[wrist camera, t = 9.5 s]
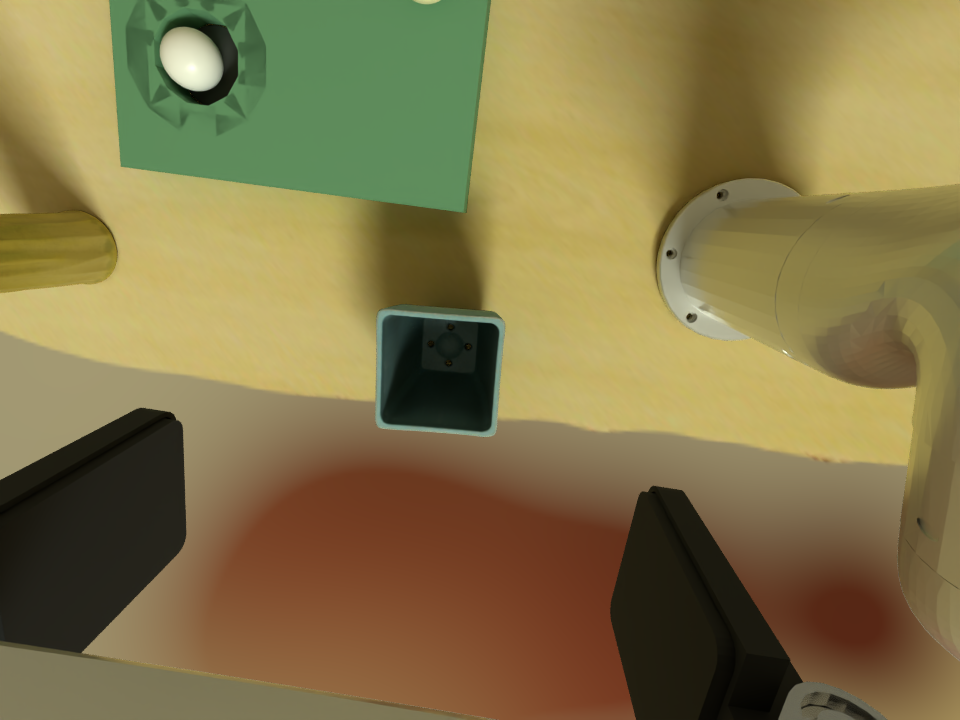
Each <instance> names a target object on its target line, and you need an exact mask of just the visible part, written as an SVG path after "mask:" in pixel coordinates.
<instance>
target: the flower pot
mask: <svg viewBox="0 0 960 720" xmlns="http://www.w3.org/2000/svg"><path fill="white" fill-rule="evenodd" d="M450 324H451V325H453V326H454V328H453V329H452V330H449V329H448V325H450ZM504 336H505V322H504V321H503V319H502V318H501V317H500V316H499V315H498V314H497V313H495V312H492V311H483V310H469V309H456V308H443V307H430V306H418V305H407V304H400V305H396V306H392V307H388V308H384V309H381V310H379V311H378V313H377V319H376V341H377V348H376V352H377V354H376V356H377V359H376V404H375V406H376V407H375V421H376V425H377V426H378V427H379V428H385V429H396V430H413V431H427V432H439V433H452V434H464V435H473V436H481V437H488V436H493V435H494V434H495V433H496V429H497V416H498V401H499V388H500V376H501V364H502V354H503V345H504ZM429 341H433V342H434V346H432V347H430V346H429V345H428V342H429ZM466 344H470V345H471V349H469V350H467V349H466V347H465V346H466ZM447 360H450V361H451V362H452V364H451V365H450V366H448V365H446V361H447Z"/></svg>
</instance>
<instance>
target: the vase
mask: <svg viewBox="0 0 960 720" xmlns="http://www.w3.org/2000/svg"><path fill="white" fill-rule="evenodd" d="M116 262H117V249H116V245H115V242H114V239H113V237H112V235H111V233H110V232H109V230H108V229H107V228H106V227H105V226H104V224H102V223H101V222H100V221H99V220H98V219H97V218H95V217H94V216H92V215H90V214H88V213H85V212H83V211H76V210H70V211H63V212H59V213H36V214H0V293H6V292H15V291H22V290H30V289H41V288H50V287H59V286H68V285H76V284H96V283H99V282H102V281H104V280H105V279H106V278H108V277H109V276H110V275H111V273H112V272H113V270H114V268H115V265H116Z"/></svg>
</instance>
